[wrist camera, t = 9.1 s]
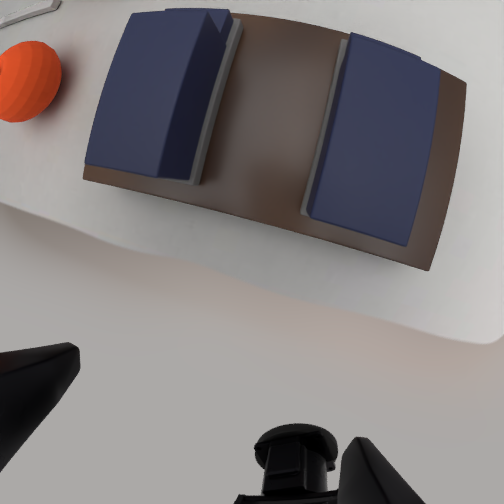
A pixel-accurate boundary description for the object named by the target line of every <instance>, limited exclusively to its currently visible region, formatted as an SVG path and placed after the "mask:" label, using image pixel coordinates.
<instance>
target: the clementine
mask: <svg viewBox="0 0 504 504" xmlns="http://www.w3.org/2000/svg"><path fill="white" fill-rule="evenodd" d="M61 75H62V71H61V63H60V60H59V58H58V56H57V54H56V52H55V51H54V49H52V48H51V47H49V46H48V45H46V44H45V43H43V42H38V41H27V42H21V43H19V44H17V45H15V46H13V47H11V48H9V49H8V50H6V51H5V52H4V53H3V54H2V55H1V56H0V119H2V120H5V121H8V122H23V121H26V120H29V119H31V118H33V117H35V116H37V115H38V114H39V113H41V112H42V111H43V110H44V109H45V108H46V107H48V105H49V104H50V103H51V102H52V100H53V98H54V97H55V95H56V93H57V91H58V88H59V86H60V82H61Z"/></svg>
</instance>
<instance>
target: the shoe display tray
mask: <svg viewBox="0 0 504 504" xmlns="http://www.w3.org/2000/svg"><path fill="white" fill-rule="evenodd" d="M231 15H232V18H235V19H240V20H241V22H242V25H243V31H242V34H241V37H240V40H239V43H238V46H237V49H236V52H235V55H234V59H233V62H232V65H231V68H230V71H229V75H228V78H227V81H226V85H225V88H224V91H223V95H222V98H221V102H220V105H219V109H218V113H217V116H216V120H215V123H214V127H213V131H212V135H211V139H210V142H209V146H208V150H207V154H206V158H205V162H204V166H203V170H202V175H201V179H200V183H199V185H198V186H192V185H187V184H183V183H178V182H174V181H169V180H165V179H158V178H152V177H147V176H142V175H137V174H133V173H128V172H123V171H118V170H112V169H107V168H102V167H97V166H91V165H86V164H85V167H84V173H83V179H84V180H88V181H93V182H97V183H102V184H106V185H111V186H115V187H120V188H124V189H128V190H133V191H137V192H141V193H145V194H150V195H154V196H158V197H162V198H166V199H170V200H174V201H179V202H183V203H187V204H191V205H195V206H199V207H203V208H207V209H210V210H214V211H218V212H222V213H226V214H230V215H234V216H238V217H241V218H245V219H249V220H253V221H256V222H260V223H264V224H268V225H271V226H275V227H279V228H282V229H286V230H290V231H293V232H297V233H300V234H304V235H307V236H311V237H315V238H318V239H322V240H325V241H329V242H332V243H335V244H339V245H342V246H346V247H349V248H353V249H356V250H359V251H363V252H366V253H369V254H373V255H376V256H379V257H383V258H386V259H389V260H392V261H396V262H399V263H402V264H405V265H409V266H412V267H415V268H418V269H421V270H424V271H429V269H430V266H431V263H432V260H433V257H434V254H435V251H436V248H437V245H438V241H439V238H440V235H441V231H442V228H443V224H444V220H445V217H446V213H447V209H448V205H449V201H450V196H451V192H452V187H453V183H454V178H455V173H456V168H457V162H458V156H459V150H460V144H461V137H462V129H463V121H464V112H465V100H466V85H467V84H466V82H464V81H462V80H460V79H459V78H457V77H455V76H453V75H451V74H449V73H447V72H445V71H443V70H441V69H440V70H441V74H440V86H439V96H438V104H437V112H436V120H435V126H434V133H433V139H432V145H431V150H430V156H429V161H428V166H427V171H426V175H425V180H424V184H423V189H422V193H421V197H420V201H419V205H418V209H417V213H416V216H415V220H414V223H413V227H412V231H411V234H410V237H409V241H408V244H407V246H406V247H403V246H400V245H397V244H394V243H390V242H387V241H384V240H381V239H378V238H374V237H371V236H368V235H365V234H361V233H358V232H355V231H351V230H348V229H345V228H341V227H338V226H335V225H331V224H328V223H324V222H321V221H317V220H314V219H311V218H310V217H308V216H304V215H301V214H300V209H301V205H302V201H303V197H304V194H305V190H306V186H307V182H308V178H309V174H310V170H311V166H312V162H313V158H314V154H315V150H316V146H317V142H318V138H319V134H320V130H321V126H322V121H323V117H324V113H325V109H326V104H327V100H328V96H329V91H330V87H331V82H332V78H333V73H334V69H335V64H336V59H337V55H338V50H339V46H340V42H341V40H342V39H345V40H348V39H349V36H350V34H347V33H343V32H340V31H336V30H332V29H328V28H324V27H320V26H316V25H311V24H306V23H301V22H296V21H291V20H285V19H279V18H273V17H266V16H258V15H249V14H239V13H231Z"/></svg>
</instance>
